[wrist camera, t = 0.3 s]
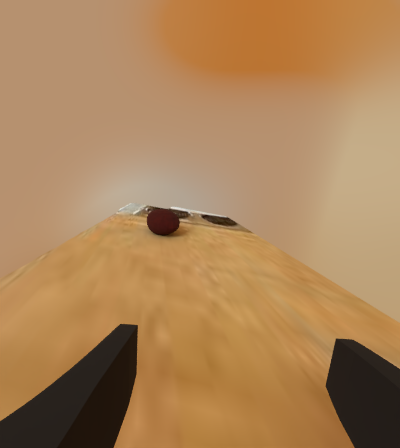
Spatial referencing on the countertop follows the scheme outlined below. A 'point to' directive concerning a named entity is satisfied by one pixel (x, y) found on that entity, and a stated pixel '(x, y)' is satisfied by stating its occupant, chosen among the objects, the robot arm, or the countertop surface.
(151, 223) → the maroon ball
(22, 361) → the countertop surface
